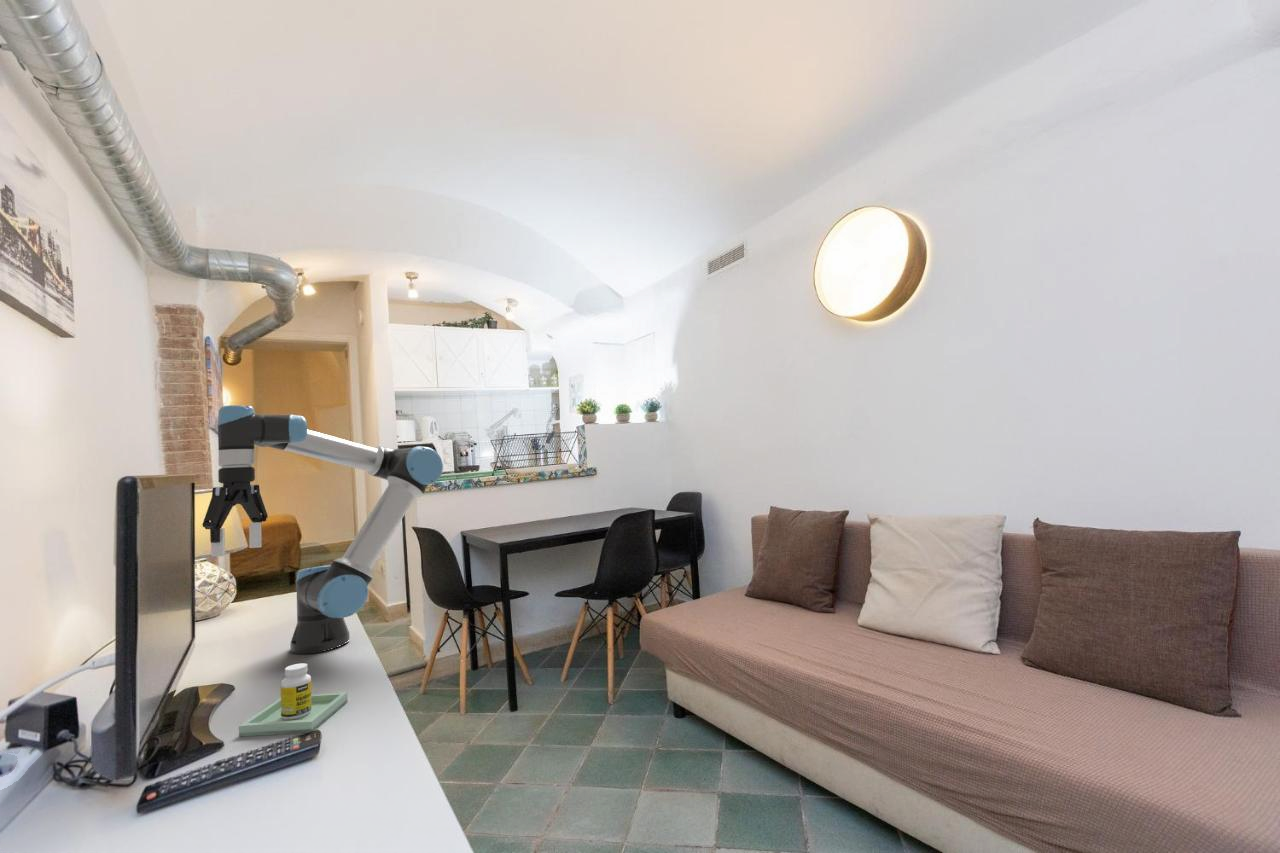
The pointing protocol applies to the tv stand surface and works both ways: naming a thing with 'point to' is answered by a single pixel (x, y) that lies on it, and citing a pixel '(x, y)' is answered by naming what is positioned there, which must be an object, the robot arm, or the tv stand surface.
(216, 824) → the tv stand surface
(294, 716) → the supplement bottle
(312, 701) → the tray
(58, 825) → the tv stand surface
